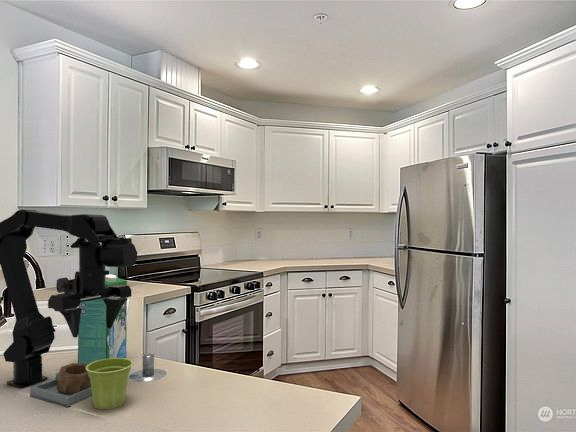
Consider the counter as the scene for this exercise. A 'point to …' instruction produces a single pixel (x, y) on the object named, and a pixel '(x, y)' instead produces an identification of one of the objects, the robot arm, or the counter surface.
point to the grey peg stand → (148, 371)
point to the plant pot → (109, 381)
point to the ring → (73, 378)
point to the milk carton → (101, 329)
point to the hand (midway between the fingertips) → (92, 332)
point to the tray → (57, 394)
